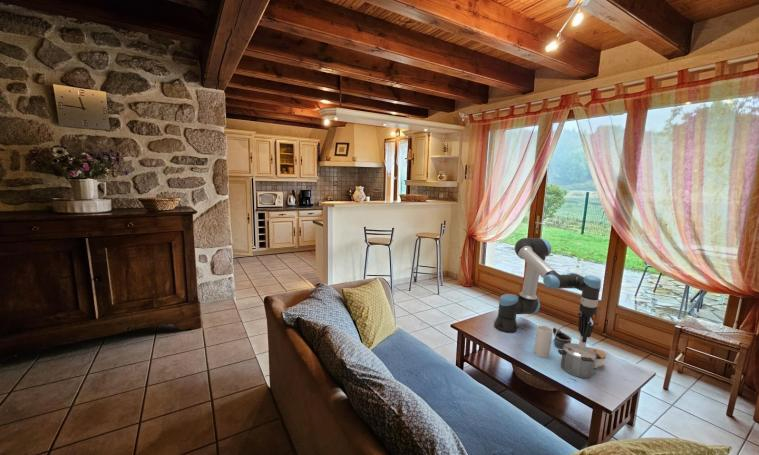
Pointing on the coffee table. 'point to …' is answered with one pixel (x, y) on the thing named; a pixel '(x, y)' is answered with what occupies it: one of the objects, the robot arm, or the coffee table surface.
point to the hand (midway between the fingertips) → (582, 346)
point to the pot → (577, 365)
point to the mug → (561, 337)
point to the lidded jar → (598, 361)
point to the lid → (580, 352)
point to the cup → (543, 341)
